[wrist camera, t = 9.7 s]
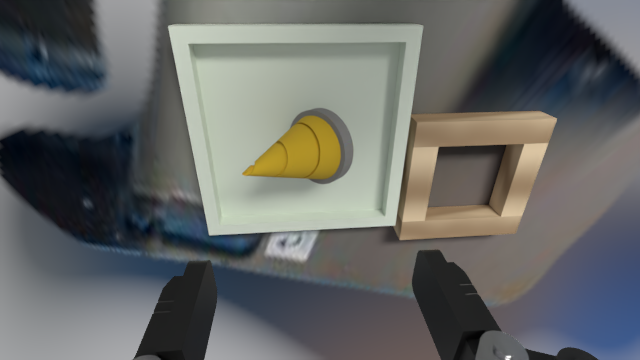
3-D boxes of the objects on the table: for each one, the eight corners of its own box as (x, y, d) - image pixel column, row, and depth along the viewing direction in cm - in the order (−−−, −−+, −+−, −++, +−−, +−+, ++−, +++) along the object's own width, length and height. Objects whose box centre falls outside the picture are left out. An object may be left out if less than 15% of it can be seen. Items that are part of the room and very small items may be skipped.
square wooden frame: (408, 114, 26) (417, 122, 25) (539, 110, 27) (557, 118, 25) (393, 226, 32) (399, 240, 30) (503, 220, 32) (515, 233, 31)
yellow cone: (335, 175, 28) (238, 222, 21) (313, 116, 28) (205, 143, 21) (386, 160, 24) (286, 211, 17) (360, 90, 24) (248, 114, 17)
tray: (176, 23, 22) (167, 26, 20) (414, 23, 23) (423, 25, 22) (213, 222, 29) (209, 235, 28) (389, 213, 31) (395, 225, 29)
